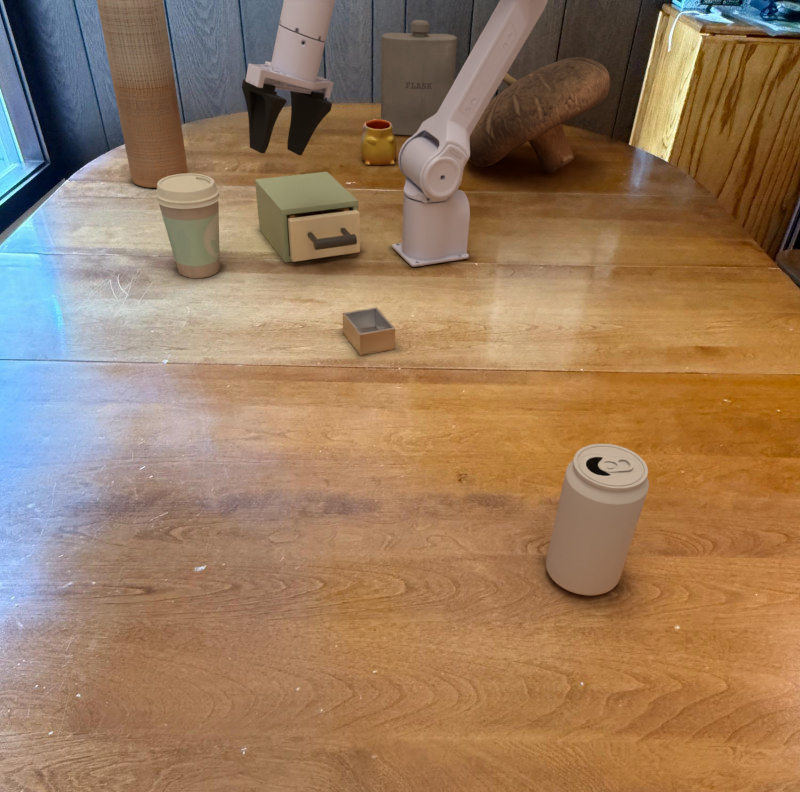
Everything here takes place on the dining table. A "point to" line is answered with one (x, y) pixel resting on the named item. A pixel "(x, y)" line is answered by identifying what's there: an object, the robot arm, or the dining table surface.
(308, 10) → the robot arm
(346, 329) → the open box
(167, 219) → the coffee cup
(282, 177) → the cabinet
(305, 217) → the drawer
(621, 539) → the beverage can
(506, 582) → the dining table surface
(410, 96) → the flask
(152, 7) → the vase
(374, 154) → the mug
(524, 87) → the brown fungus
